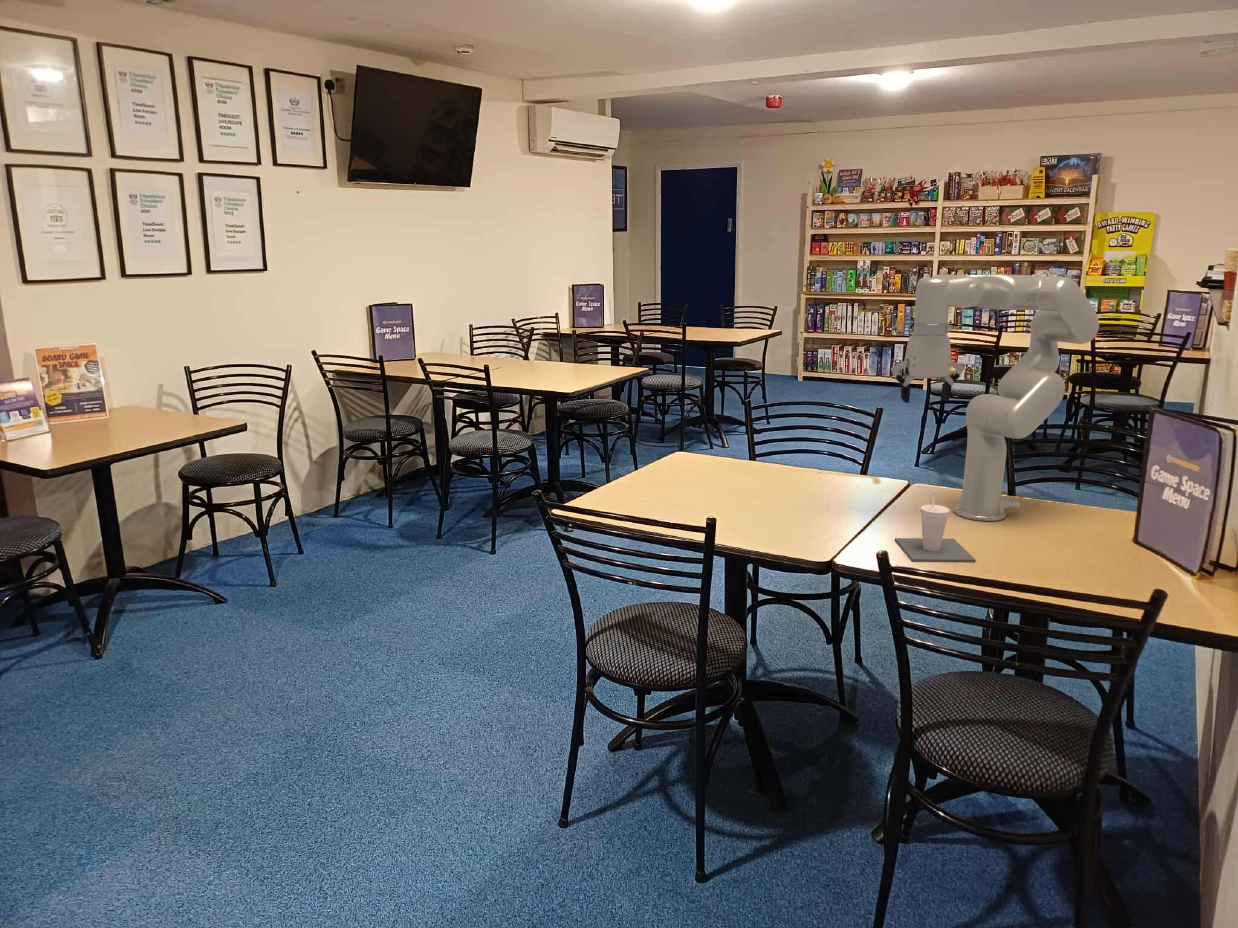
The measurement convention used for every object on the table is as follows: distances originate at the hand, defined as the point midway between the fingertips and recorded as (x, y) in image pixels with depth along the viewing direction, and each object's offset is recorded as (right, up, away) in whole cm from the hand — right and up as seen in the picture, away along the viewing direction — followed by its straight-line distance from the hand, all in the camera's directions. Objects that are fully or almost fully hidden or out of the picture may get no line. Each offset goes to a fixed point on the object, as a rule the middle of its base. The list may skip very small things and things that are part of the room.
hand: (925, 401), depth 210 cm
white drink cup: (-2, -35, -10) cm, 37 cm away
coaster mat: (-2, -35, -10) cm, 37 cm away
